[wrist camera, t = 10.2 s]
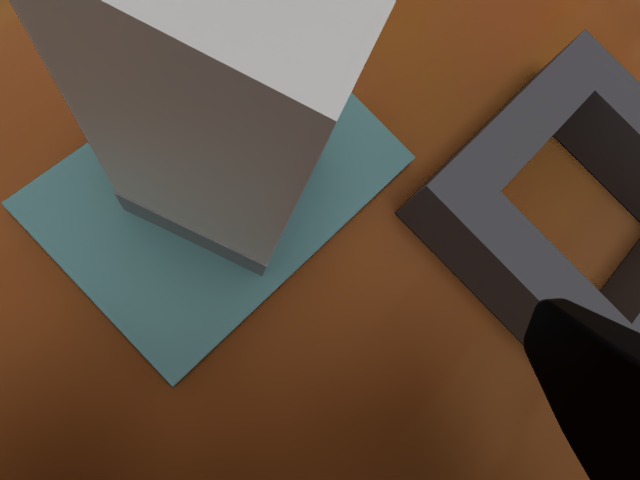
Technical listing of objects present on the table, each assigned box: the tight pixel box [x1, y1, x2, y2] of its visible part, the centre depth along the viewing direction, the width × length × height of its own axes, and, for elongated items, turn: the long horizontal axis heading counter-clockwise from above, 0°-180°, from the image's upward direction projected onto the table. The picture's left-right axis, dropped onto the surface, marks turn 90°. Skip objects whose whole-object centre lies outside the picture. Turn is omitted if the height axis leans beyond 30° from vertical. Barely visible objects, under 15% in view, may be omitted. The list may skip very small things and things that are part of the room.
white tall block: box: [9, 0, 396, 276], centre depth 12 cm, size 5×5×12 cm
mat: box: [2, 92, 415, 387], centre depth 18 cm, size 12×8×1 cm, turn 135°
